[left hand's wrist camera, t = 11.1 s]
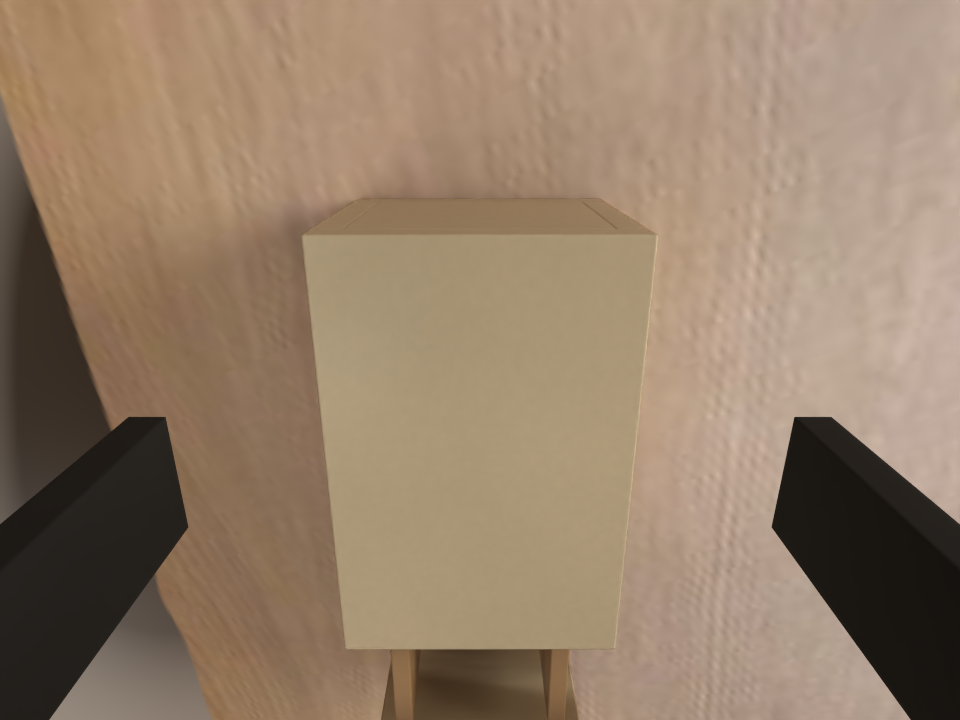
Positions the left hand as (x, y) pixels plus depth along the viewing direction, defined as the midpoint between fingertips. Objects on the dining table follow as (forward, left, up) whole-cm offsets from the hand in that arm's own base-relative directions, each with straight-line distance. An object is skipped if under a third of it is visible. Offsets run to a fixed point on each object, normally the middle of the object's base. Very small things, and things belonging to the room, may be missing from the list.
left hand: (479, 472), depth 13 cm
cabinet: (+4, 0, -16) cm, 17 cm away
